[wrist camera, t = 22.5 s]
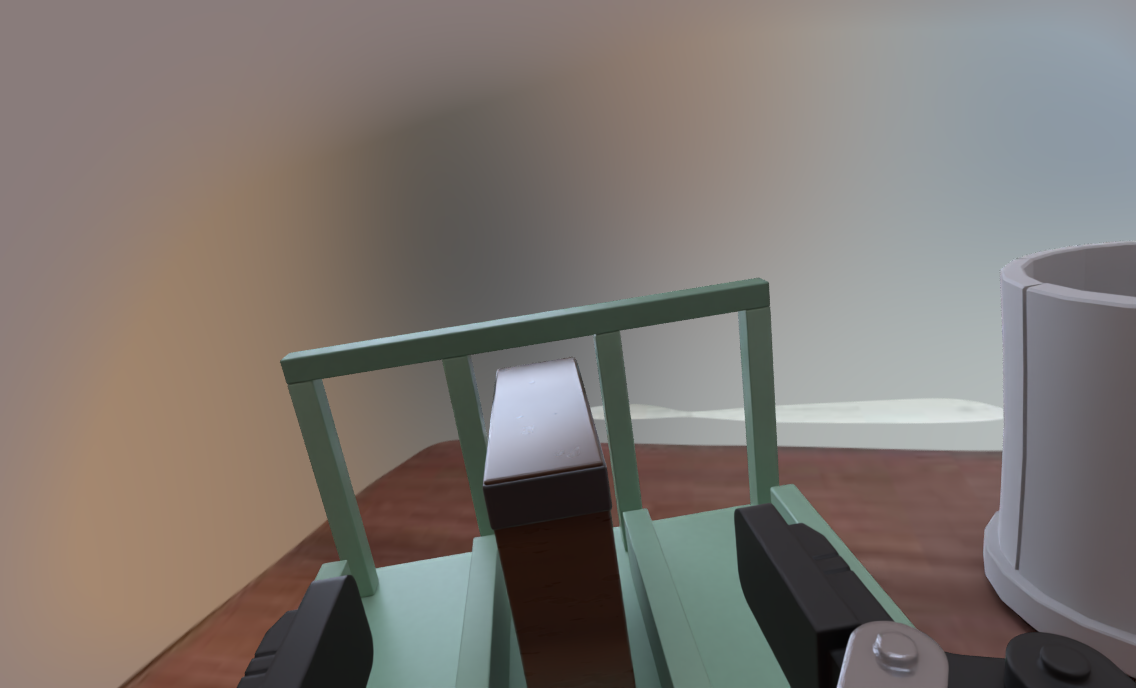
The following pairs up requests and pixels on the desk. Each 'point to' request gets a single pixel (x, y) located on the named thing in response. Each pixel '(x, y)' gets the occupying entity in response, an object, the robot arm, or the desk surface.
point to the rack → (644, 548)
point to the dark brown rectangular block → (556, 529)
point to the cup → (1069, 447)
